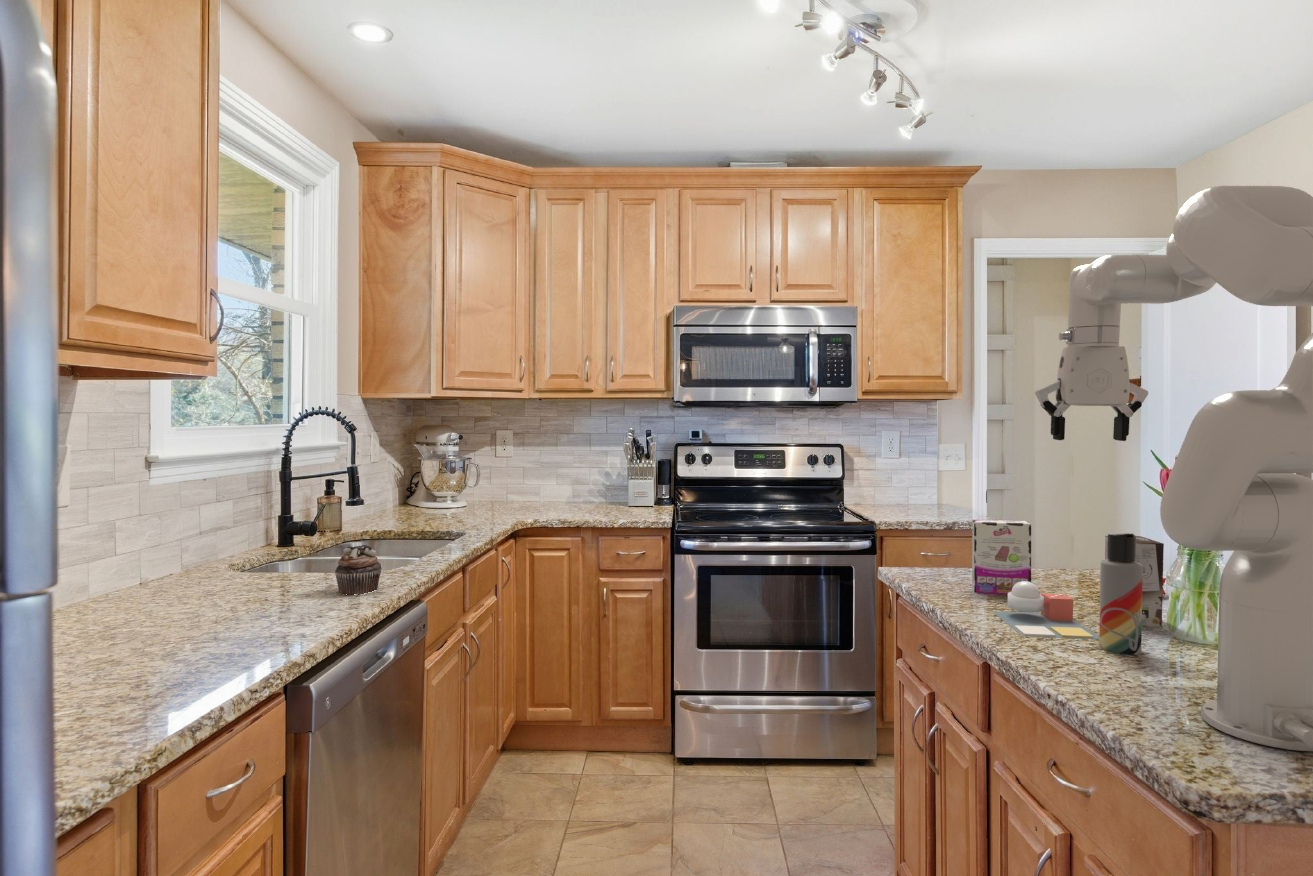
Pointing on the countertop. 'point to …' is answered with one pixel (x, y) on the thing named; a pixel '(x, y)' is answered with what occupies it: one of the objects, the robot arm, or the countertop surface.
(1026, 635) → the game board
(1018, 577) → the candy bar box
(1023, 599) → the dome
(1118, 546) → the lotion bottle
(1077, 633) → the pad
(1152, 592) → the coffee box
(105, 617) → the countertop surface
